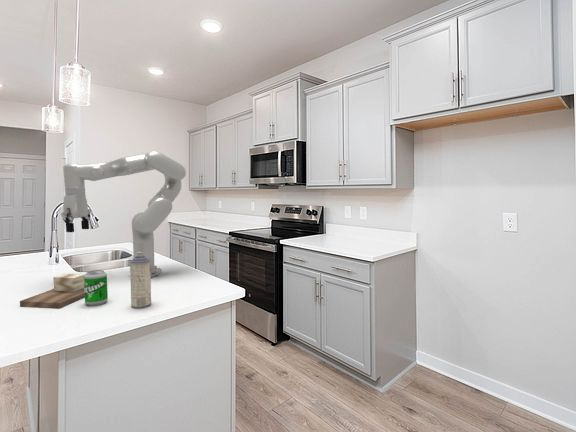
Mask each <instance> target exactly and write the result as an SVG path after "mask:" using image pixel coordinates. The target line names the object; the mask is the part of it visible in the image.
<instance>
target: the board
mask: <svg viewBox="0 0 576 432" xmlns="http://www.w3.org/2000/svg"><path fill="white" fill-rule="evenodd" d="M83 299H85V292H84V289H83V290H81V291H78V292H76V293H65V292H54V288H53V289H49V290H47V291H44V292H41V293H39V294H37V295H36V294H35V295H33V296H30V297H28V298H24V299H22V300H20V301H19V306H20V307H22V308H23V307H24V308H25V307H26V308H43V309H63V308H64V307H67V306H69V305H72V304H73V303H75V302H78V301H79V300H83Z"/></svg>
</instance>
